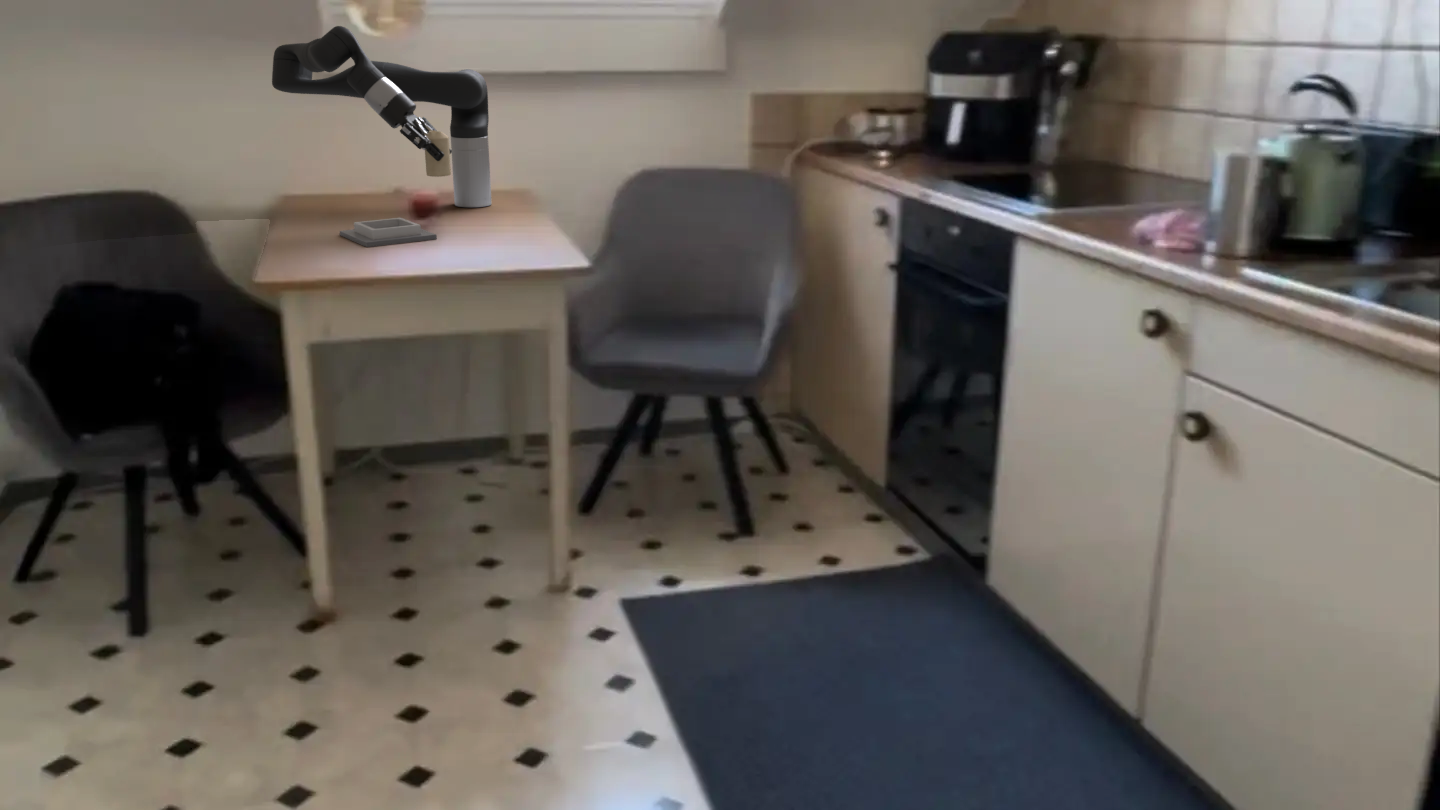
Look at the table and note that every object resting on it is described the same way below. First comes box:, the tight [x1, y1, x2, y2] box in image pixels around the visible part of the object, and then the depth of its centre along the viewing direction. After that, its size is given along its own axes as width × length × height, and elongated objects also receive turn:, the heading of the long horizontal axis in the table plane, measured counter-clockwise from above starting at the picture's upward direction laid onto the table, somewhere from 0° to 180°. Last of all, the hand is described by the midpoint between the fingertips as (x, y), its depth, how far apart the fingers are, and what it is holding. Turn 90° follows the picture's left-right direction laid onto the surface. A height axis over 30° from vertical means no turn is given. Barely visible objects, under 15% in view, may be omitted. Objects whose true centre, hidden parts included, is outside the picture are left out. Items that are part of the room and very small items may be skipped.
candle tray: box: [339, 217, 438, 248], centre depth 275 cm, size 16×16×3 cm
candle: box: [424, 130, 452, 178], centre depth 283 cm, size 6×6×10 cm
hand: (445, 156), depth 283 cm, fingers closed on candle, 5 cm apart
